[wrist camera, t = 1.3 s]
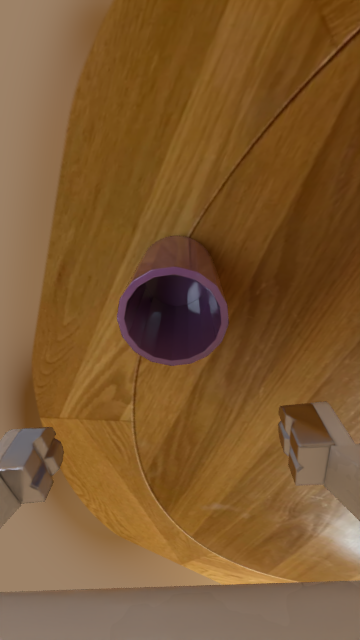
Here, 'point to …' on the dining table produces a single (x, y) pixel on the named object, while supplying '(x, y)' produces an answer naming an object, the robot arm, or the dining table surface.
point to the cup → (174, 304)
